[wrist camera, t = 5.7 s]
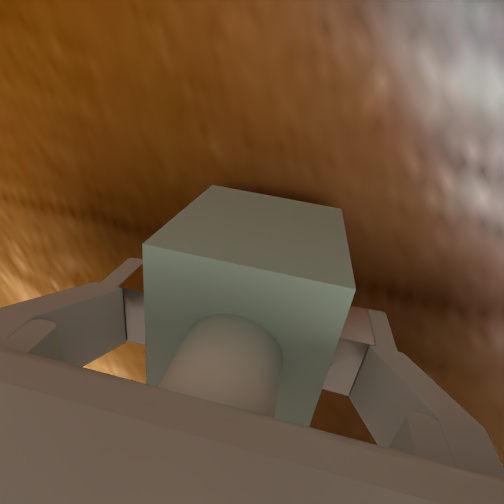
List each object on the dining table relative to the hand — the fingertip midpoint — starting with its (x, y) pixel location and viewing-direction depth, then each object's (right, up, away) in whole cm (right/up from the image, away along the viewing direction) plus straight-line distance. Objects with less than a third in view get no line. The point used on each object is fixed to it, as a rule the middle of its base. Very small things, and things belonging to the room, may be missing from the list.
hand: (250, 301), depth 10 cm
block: (+1, +1, +2) cm, 3 cm away
